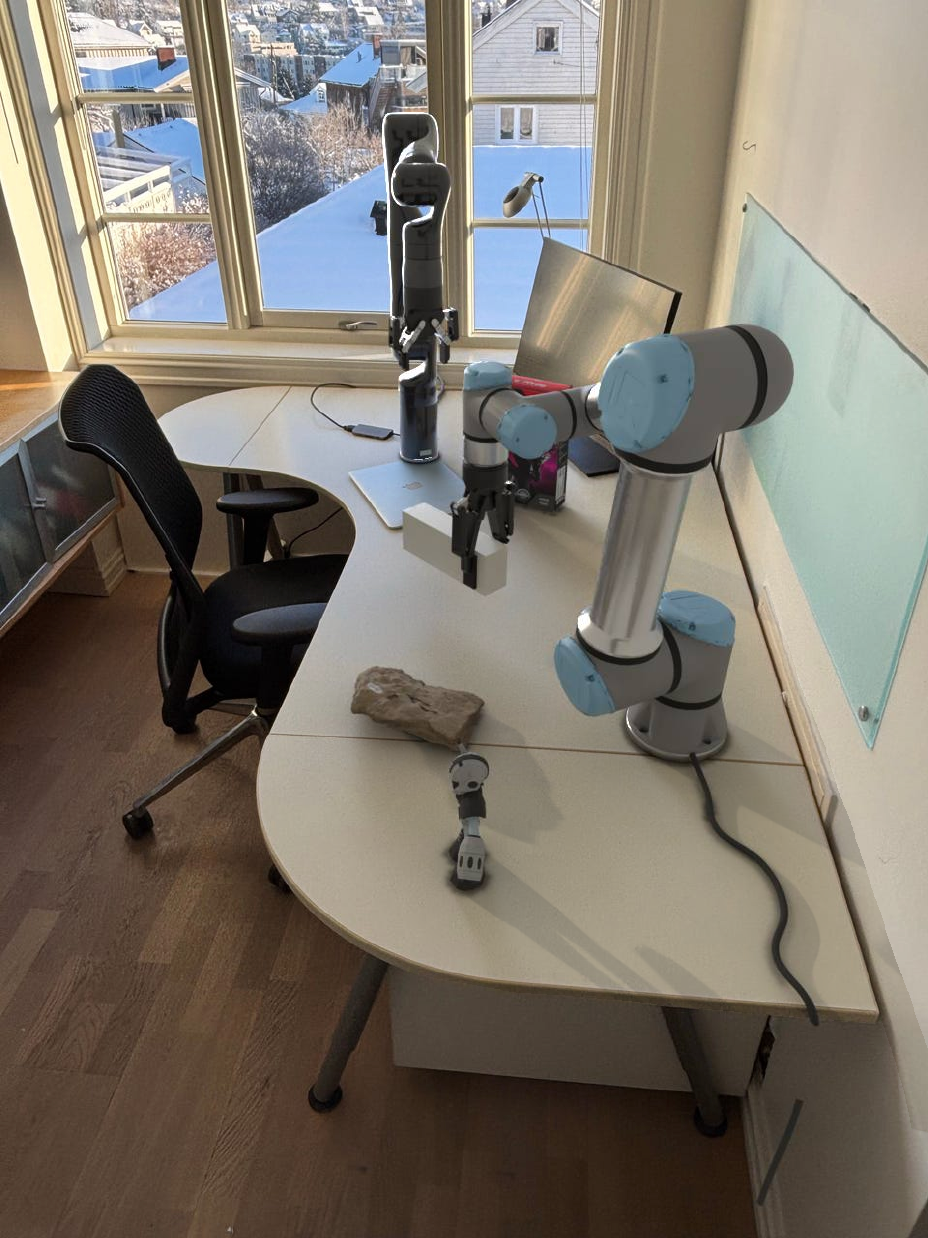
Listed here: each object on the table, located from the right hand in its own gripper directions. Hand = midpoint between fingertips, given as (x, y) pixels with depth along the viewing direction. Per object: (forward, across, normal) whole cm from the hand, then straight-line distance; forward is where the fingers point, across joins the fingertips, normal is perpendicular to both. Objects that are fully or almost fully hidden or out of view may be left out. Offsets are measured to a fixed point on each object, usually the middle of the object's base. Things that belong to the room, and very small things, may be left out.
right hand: (482, 579), depth 163 cm
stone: (+9, +28, +13) cm, 32 cm away
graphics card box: (+9, -41, -28) cm, 51 cm away
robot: (+8, +41, +40) cm, 58 cm away
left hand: (-25, -18, -36) cm, 48 cm away
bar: (+1, 0, -8) cm, 8 cm away
